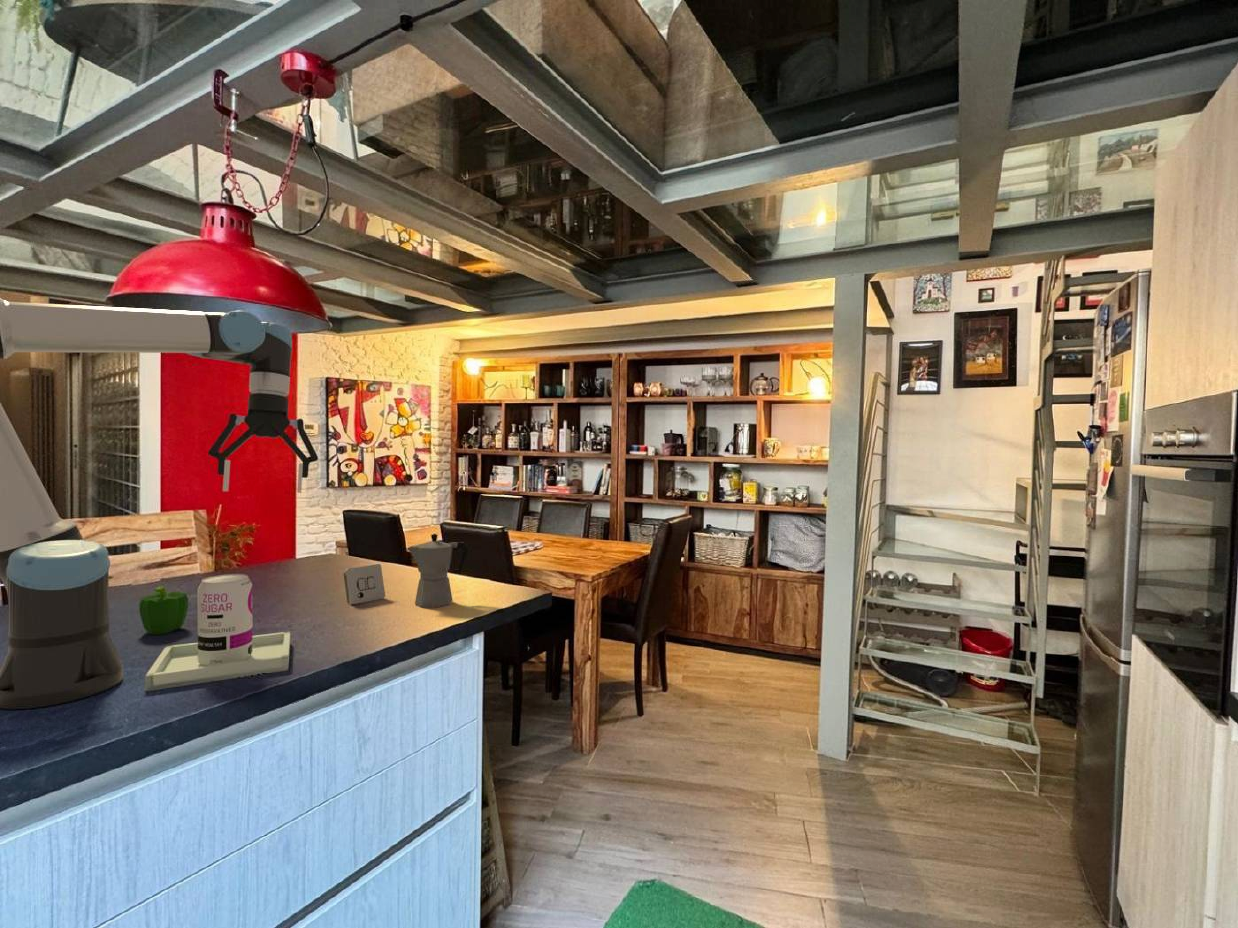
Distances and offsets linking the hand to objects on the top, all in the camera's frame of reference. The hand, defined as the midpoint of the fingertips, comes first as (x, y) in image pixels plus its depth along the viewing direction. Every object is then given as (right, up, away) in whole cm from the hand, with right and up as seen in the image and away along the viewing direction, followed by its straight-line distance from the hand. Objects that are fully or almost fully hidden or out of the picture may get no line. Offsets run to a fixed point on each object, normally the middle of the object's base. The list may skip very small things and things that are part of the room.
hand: (263, 492), depth 125 cm
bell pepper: (-21, -30, -1) cm, 36 cm away
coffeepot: (+30, -30, +24) cm, 49 cm away
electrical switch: (+10, -30, +26) cm, 41 cm away
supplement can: (+6, -30, -20) cm, 36 cm away
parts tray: (+6, -30, -20) cm, 37 cm away
